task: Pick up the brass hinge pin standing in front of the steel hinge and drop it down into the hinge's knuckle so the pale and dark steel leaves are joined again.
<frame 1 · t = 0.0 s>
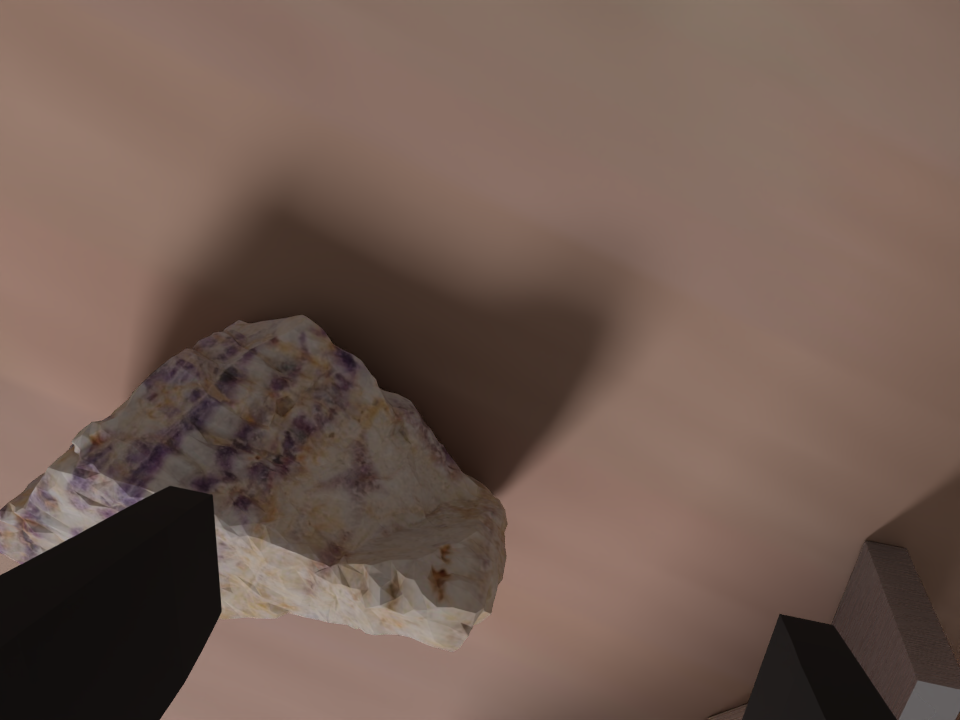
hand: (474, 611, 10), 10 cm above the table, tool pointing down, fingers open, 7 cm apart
mineral specimen: (296, 429, 22), on the table
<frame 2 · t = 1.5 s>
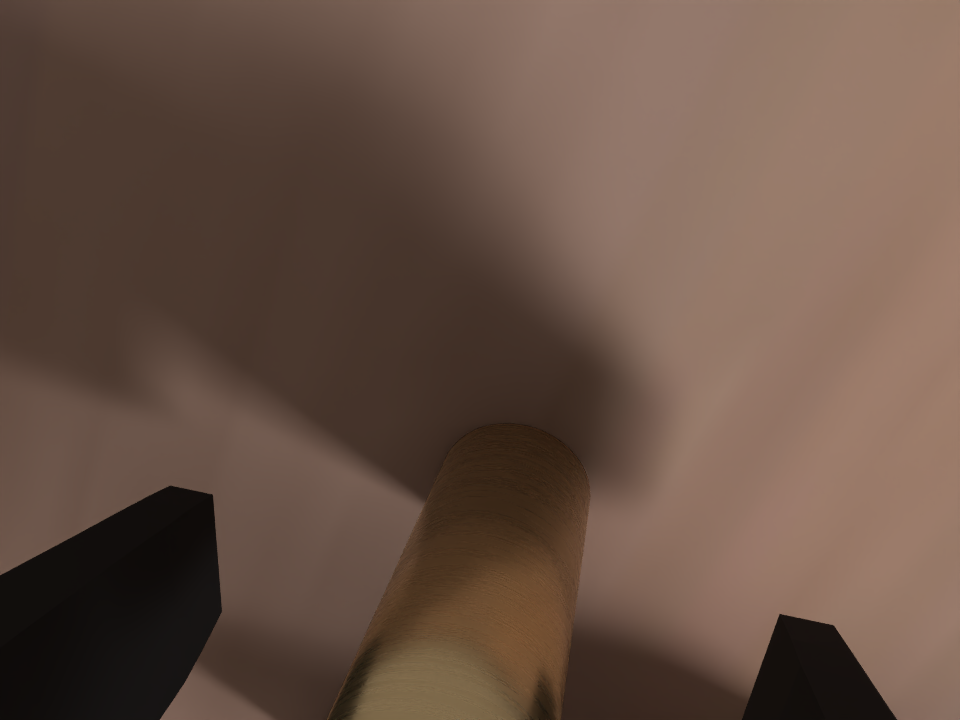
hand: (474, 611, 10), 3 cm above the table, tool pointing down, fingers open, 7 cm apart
hinge pin: (514, 489, 12), on the table
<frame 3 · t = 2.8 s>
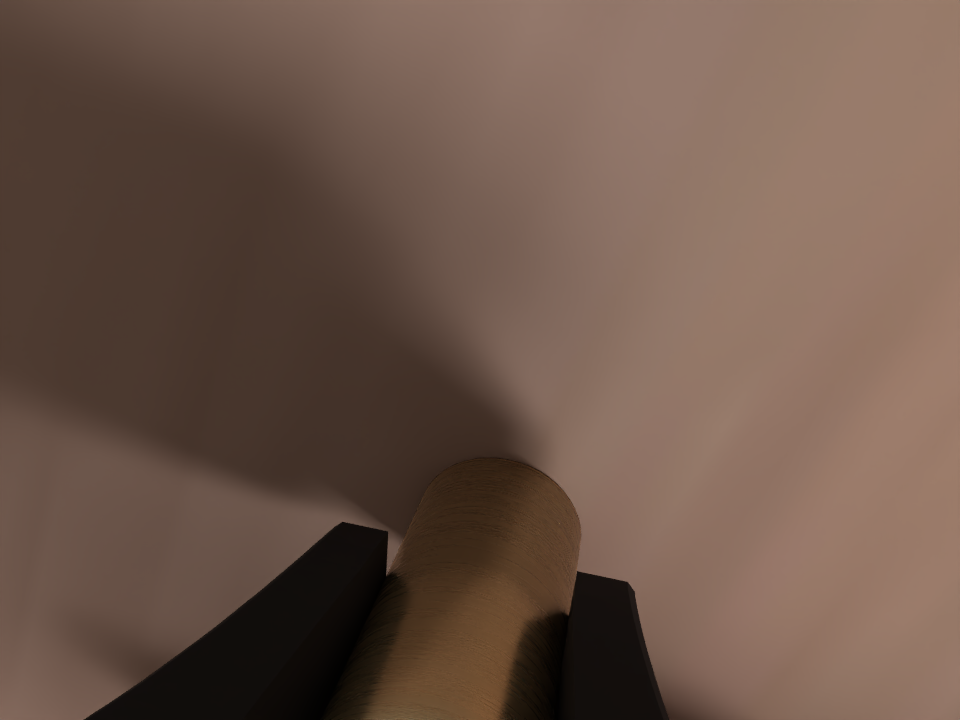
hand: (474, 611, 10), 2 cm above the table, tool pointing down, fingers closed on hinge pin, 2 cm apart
hinge pin: (498, 527, 11), on the table, touching gripper
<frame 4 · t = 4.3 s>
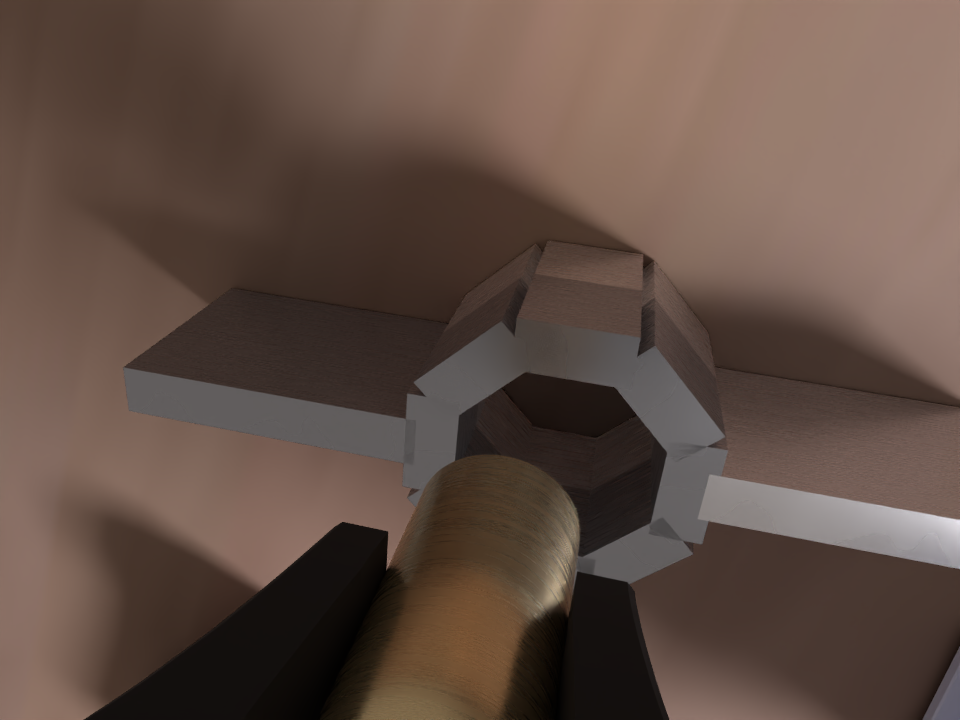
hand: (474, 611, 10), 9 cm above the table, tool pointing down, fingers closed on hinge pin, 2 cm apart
hinge pin: (498, 524, 11), point 8 cm above the table, touching gripper
hinge: (576, 364, 18), on the table
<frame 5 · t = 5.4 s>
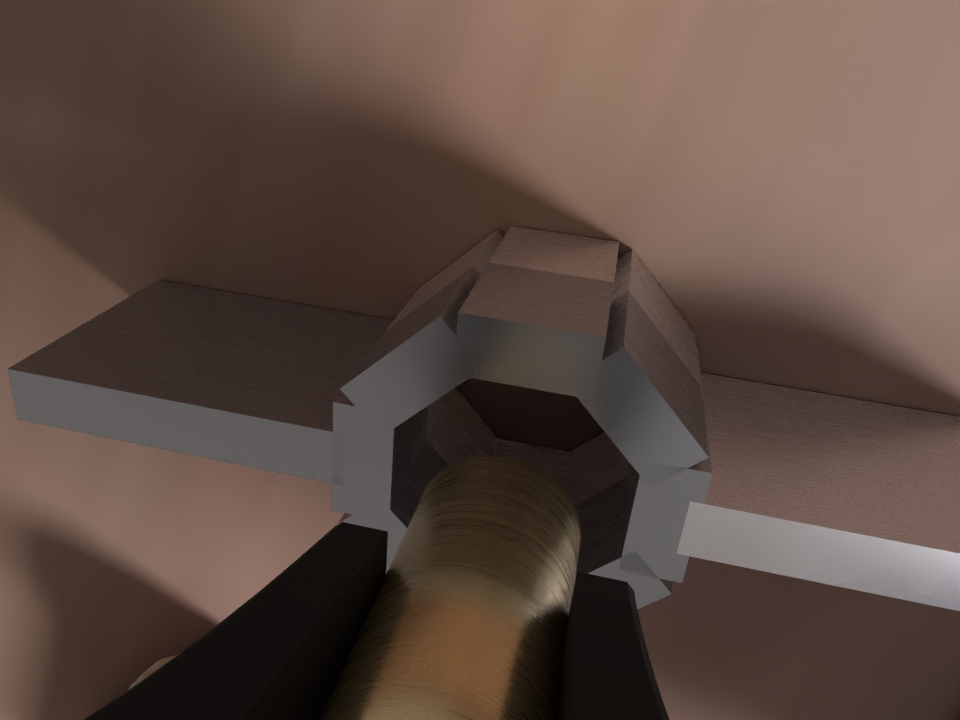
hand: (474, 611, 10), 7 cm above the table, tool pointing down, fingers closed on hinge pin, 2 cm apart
hinge pin: (498, 526, 11), point 5 cm above the table, touching gripper
hinge: (544, 368, 16), on the table
when the fingers open (7 cm above the table, at t = 5.8 s): hinge pin drops 5 cm, resting in hinge.
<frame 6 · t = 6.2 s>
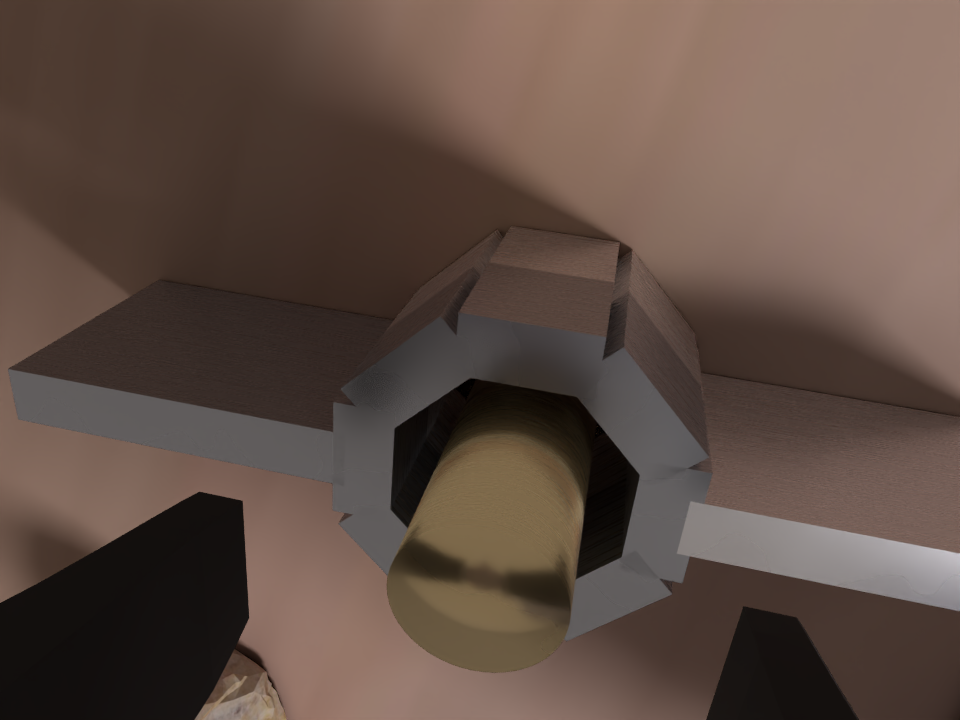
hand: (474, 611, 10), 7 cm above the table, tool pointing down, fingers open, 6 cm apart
hinge pin: (545, 366, 16), resting in hinge
hinge: (545, 368, 16), on the table
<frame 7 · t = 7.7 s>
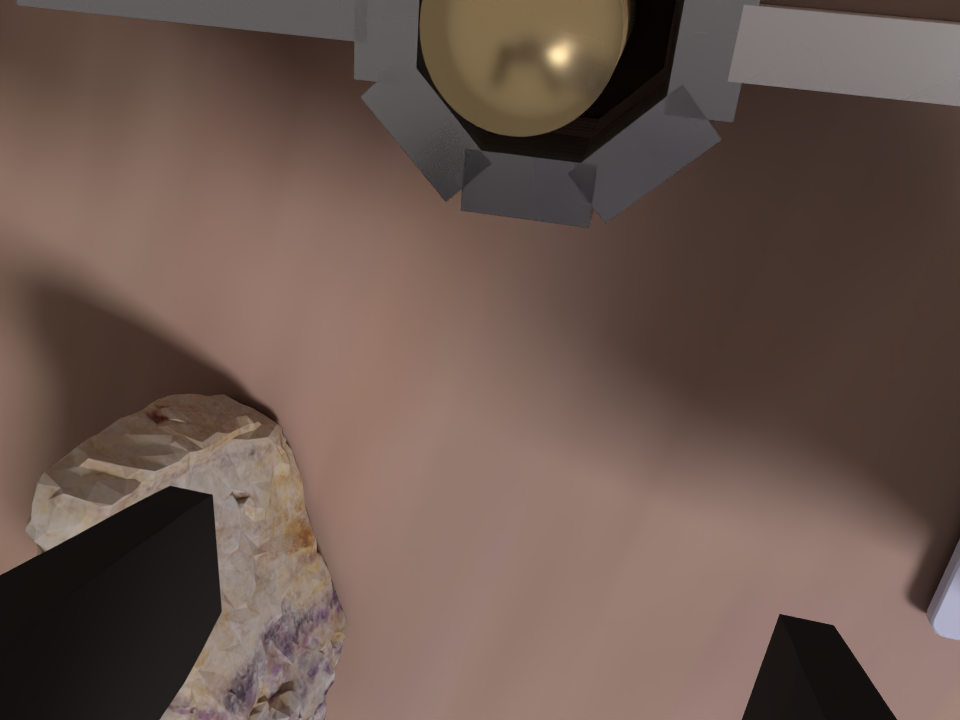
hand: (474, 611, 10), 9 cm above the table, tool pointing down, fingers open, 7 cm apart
hinge pin: (573, 12, 15), resting in hinge
hinge: (573, 14, 15), on the table
mineral specimen: (243, 549, 24), on the table
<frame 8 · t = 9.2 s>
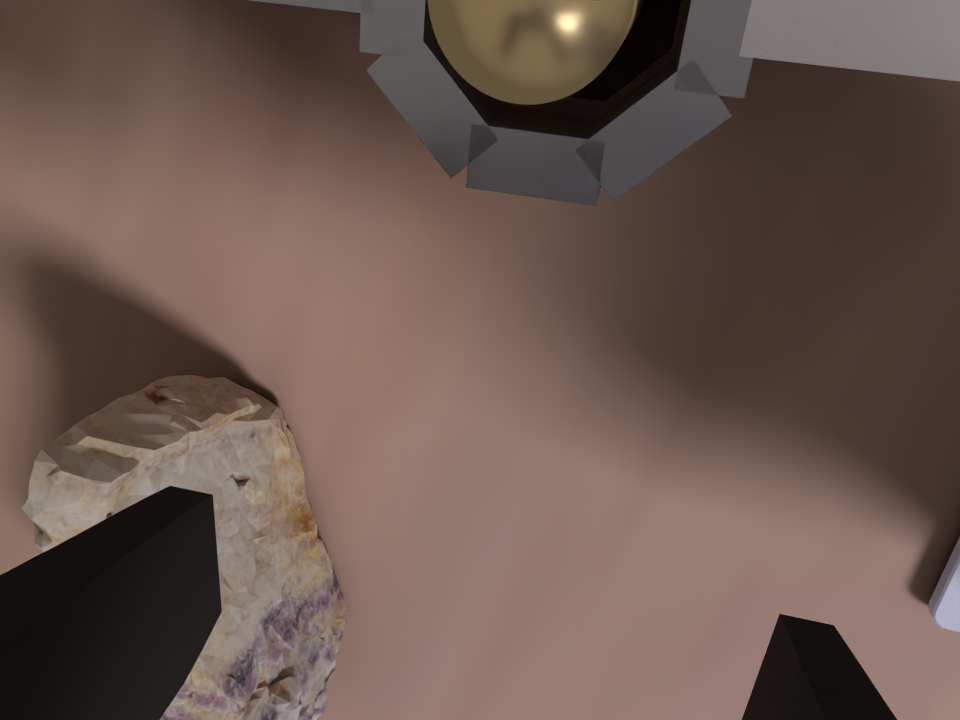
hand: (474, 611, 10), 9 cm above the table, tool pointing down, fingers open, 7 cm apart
mineral specimen: (243, 536, 24), on the table
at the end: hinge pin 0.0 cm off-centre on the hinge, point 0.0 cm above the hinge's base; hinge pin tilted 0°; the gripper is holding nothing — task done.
